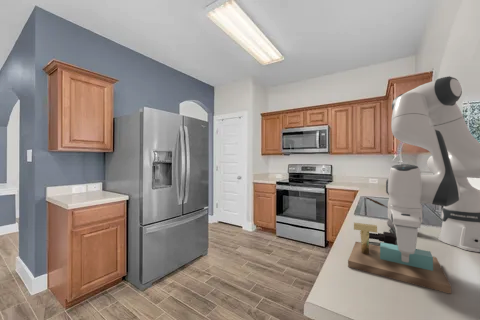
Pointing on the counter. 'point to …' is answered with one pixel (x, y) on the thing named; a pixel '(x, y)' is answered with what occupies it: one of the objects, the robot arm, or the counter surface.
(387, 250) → the cover
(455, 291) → the counter surface
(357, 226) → the t key
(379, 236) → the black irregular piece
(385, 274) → the base
